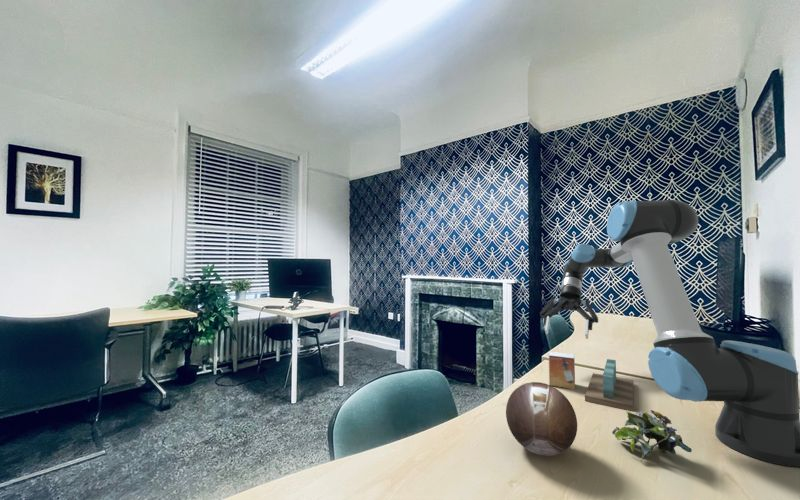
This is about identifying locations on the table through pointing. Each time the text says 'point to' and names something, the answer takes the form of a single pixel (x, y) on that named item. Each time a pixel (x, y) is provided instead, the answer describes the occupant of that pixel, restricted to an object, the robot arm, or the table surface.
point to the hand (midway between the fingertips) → (565, 334)
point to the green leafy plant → (650, 432)
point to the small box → (562, 370)
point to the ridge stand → (610, 388)
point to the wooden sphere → (541, 419)
